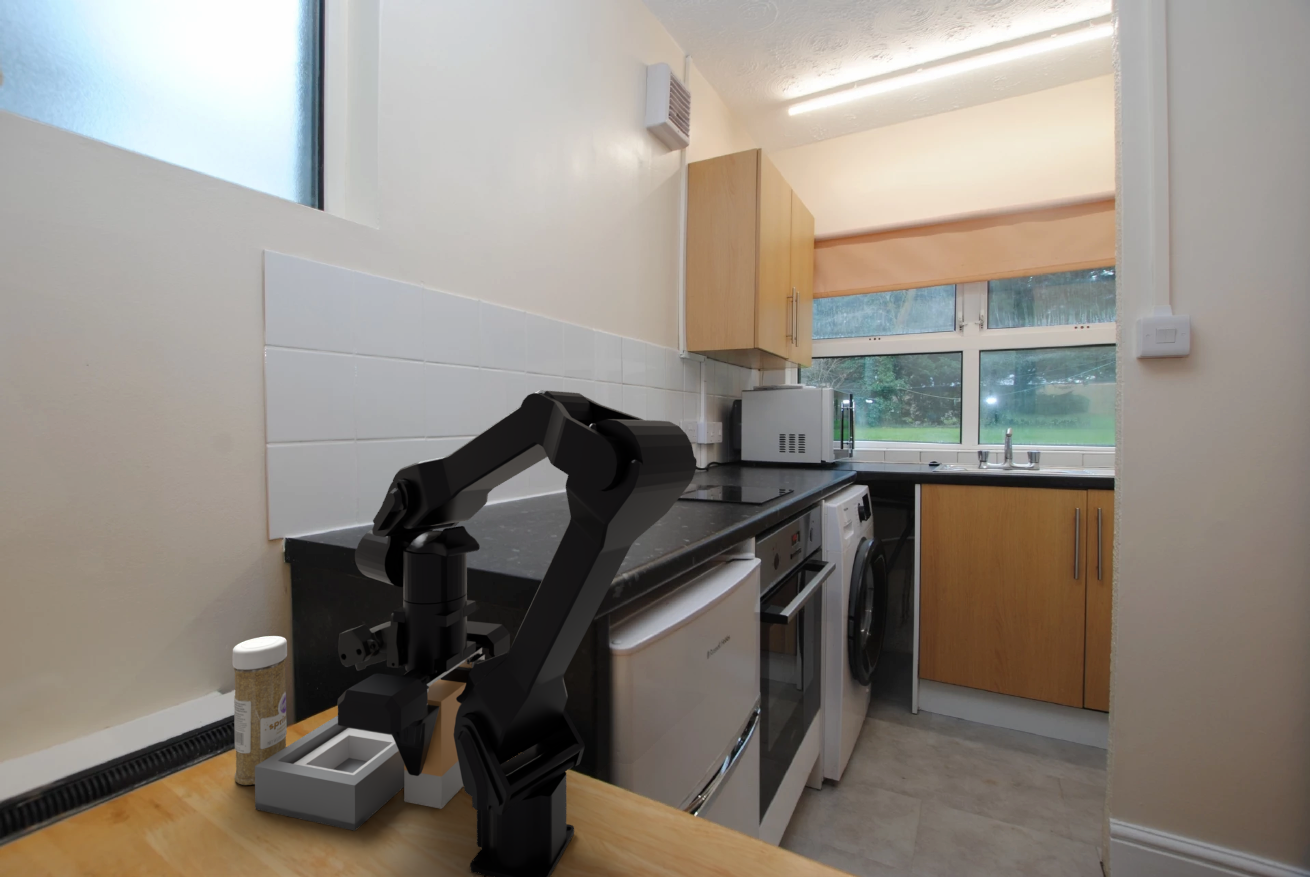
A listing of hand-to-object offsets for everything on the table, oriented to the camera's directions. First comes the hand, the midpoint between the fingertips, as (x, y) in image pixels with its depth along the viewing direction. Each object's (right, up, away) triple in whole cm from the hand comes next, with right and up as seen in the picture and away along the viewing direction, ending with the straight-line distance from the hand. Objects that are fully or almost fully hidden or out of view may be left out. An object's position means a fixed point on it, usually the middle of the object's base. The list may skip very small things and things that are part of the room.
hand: (435, 756), depth 55 cm
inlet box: (-9, -4, +1) cm, 10 cm away
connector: (0, -4, 0) cm, 4 cm away
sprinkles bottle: (-19, -4, +3) cm, 19 cm away
